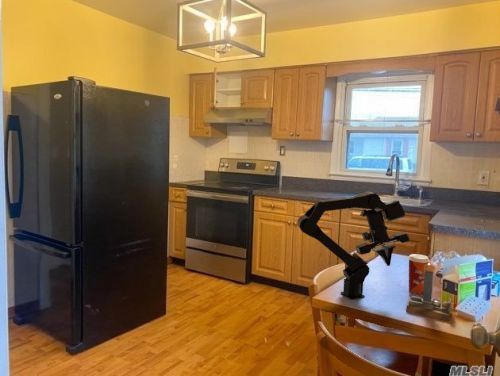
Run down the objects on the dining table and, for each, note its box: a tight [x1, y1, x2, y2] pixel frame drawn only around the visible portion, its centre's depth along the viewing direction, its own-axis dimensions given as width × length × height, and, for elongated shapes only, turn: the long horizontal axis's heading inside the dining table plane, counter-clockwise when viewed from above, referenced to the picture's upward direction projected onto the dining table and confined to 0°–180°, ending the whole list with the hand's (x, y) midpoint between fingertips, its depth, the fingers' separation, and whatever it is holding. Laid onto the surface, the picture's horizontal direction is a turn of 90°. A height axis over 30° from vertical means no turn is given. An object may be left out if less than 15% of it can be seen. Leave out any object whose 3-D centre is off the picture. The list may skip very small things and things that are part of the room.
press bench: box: [405, 295, 453, 322], centre depth 130 cm, size 13×8×6 cm, turn 58°
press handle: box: [421, 263, 442, 308], centre depth 129 cm, size 6×3×14 cm, turn 58°
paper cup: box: [408, 253, 430, 295], centre depth 149 cm, size 8×8×14 cm
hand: (388, 265), depth 141 cm, fingers closed
